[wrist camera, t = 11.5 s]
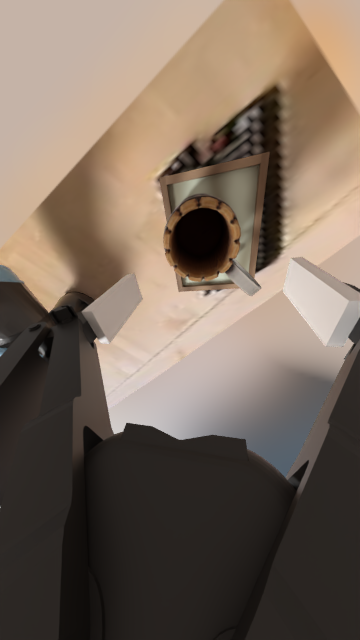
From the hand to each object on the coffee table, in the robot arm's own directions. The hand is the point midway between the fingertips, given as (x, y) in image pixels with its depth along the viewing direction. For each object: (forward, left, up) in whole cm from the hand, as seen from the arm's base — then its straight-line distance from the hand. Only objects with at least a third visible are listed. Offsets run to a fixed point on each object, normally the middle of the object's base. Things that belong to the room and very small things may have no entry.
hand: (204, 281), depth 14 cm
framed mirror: (0, 0, -24) cm, 24 cm away
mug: (0, 0, -20) cm, 20 cm away
